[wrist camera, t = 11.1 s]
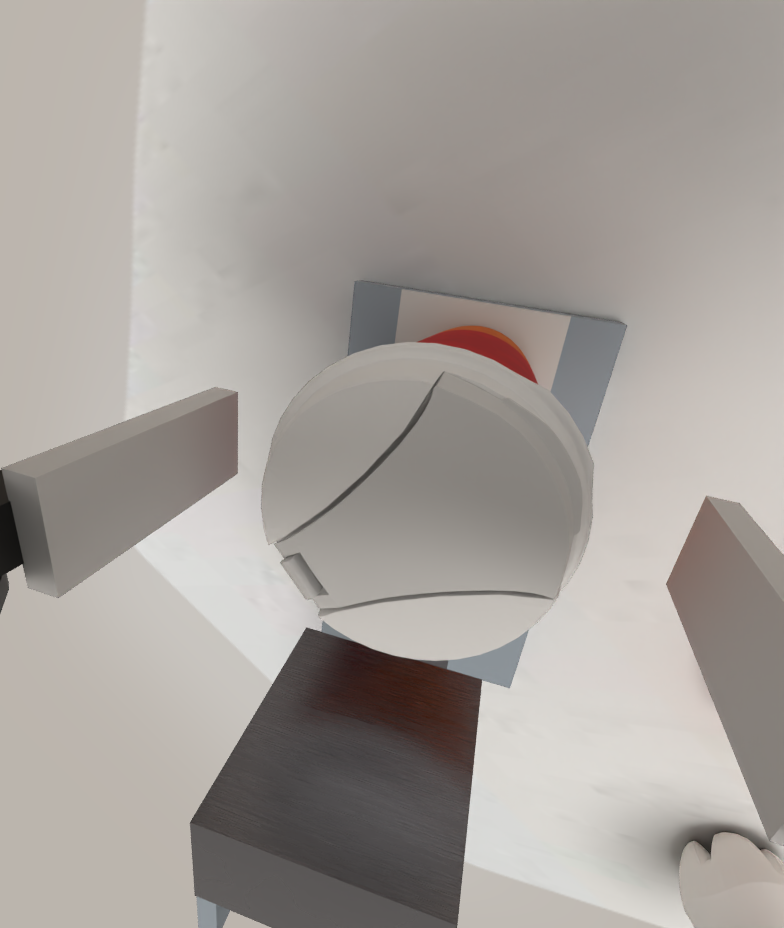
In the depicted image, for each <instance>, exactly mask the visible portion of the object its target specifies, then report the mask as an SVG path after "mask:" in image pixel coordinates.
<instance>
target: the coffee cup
mask: <svg viewBox="0 0 784 928" xmlns="http://www.w3.org/2000/svg"><path fill="white" fill-rule="evenodd" d="M593 469H594V462H593V460H592V457H591V455H590V452H589V450H588V447H587V445H586V442H585V440H584V437H583V435H582V434H581V432H580V430H579V429H578V427H577V425H576V424H575V422H574V421H573V419H572V417H571V416H570V414H569V412H568V411H567V410H566V409H565V408H564V407H563V406H562V404H561V403H560V402H559V401H558V400H557V399H556V398H555V397H554V395H553V394H552V393H551V392H550V391H549V390H548V389H546V388H544V387H542V386H540V385H538V382H537V380H536V378H535V375H534V373H533V371H532V369H531V366H530V364H529V362H528V360H527V359H526V357H525V355H524V354H523V352H522V351H521V350H520V348H519V347H518V346H517V345H516V344H515V343H514V342H513V341H512V340H511V339H510V338H508V337H507V336H505V335H504V334H502V333H500V332H498V331H496V330H494V329H491V328H487V327H483V326H460V327H456V328H452V329H448V330H445V331H443V332H440V333H437V334H435V335H432V336H430V337H428V338H425V339H423V340H420V341H418V342H404V343H396V344H388V345H380V346H376V347H373V348H370V349H366V350H363V351H360V352H357V353H353V354H351V355H349V356H347V357H345V358H343V359H341V360H339V361H337V362H336V363H334V364H332V365H330V366H328V367H327V368H326V369H324V370H323V371H322V372H320V373H319V374H318V375H316V376H315V377H314V378H312V379H311V380H310V381H309V382H308V383H307V384H306V385H305V386H304V387H303V388H302V389H301V390H300V391H299V392H298V394H297V395H296V396H295V397H294V398H293V399H292V401H291V403H290V404H289V406H288V407H287V409H286V410H285V412H284V414H283V415H282V417H281V419H280V421H279V424H278V426H277V428H276V431H275V433H274V436H273V438H272V443H271V447H270V452H269V456H268V461H267V464H266V469H265V473H264V478H263V482H262V497H261V509H262V518H263V526H264V531H265V535H266V538H267V542H268V545H270V544H272V543H274V542H275V541H277V543H275V544H274V545H275V546H276V548H277V549H278V550H279V552H280V553H281V555H282V556H283V558H284V560H282V561H281V562H280V563H281V565H282V566H283V567H284V569H285V570H286V572H287V573H288V575H289V576H290V578H291V579H292V580H293V582H294V583H295V585H296V586H297V588H298V589H299V590H300V592H301V593H302V595H303V596H304V598H305V599H313V601H314V602H315V604H316V605H317V607H318V608H320V611H319V614H318V615H319V616H320V617H319V618H320V619H322V620H323V621H324V622H325V623H327V624H328V625H329V626H331V627H332V628H333V629H335V630H337V631H338V632H340V633H342V634H343V635H345V636H347V637H348V638H350V639H352V640H354V641H356V642H358V643H360V644H363V645H365V646H367V647H369V648H372V649H374V650H378V651H381V652H384V653H387V654H390V655H394V656H399V657H404V658H410V659H416V660H432V661H441V660H456V659H462V658H467V657H472V656H477V655H481V654H484V653H486V652H489V651H492V650H495V649H498V648H500V647H502V646H504V645H506V644H507V643H509V642H511V641H513V640H515V639H517V638H518V637H520V636H521V635H522V634H524V633H525V632H526V631H527V630H529V629H530V628H531V627H532V626H534V625H535V624H536V623H538V621H539V620H540V619H541V618H542V617H543V616H544V615H545V614H546V613H547V611H548V610H549V609H550V608H551V607H552V606H553V604H554V603H555V601H556V599H557V598H558V596H559V594H560V592H561V591H562V590H563V588H564V587H565V586H566V585H567V584H568V582H569V581H570V579H571V577H572V576H573V574H574V573H575V571H576V569H577V568H578V566H579V564H580V562H581V559H582V557H583V554H584V552H585V549H586V546H587V544H588V540H589V535H590V529H591V524H592V518H593V510H592V488H593Z"/></svg>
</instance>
